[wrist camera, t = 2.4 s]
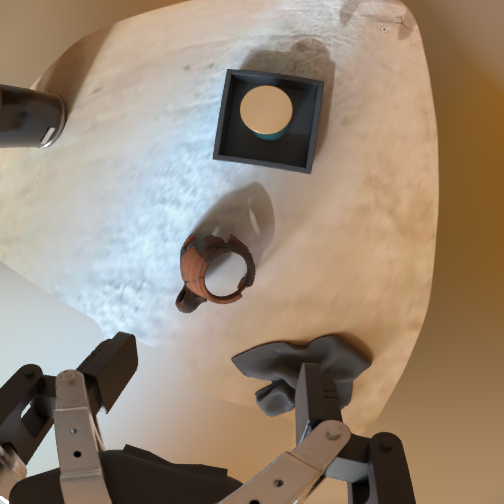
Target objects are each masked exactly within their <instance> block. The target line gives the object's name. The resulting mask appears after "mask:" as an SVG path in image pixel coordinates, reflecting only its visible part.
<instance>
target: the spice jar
mask: <svg viewBox="0 0 504 504" xmlns="http://www.w3.org/2000/svg"><path fill="white" fill-rule="evenodd" d="M292 112H293V108H292V103H291V100H290V98H289V97H288V95H287V94H286V93H285V92H284V91H282V90H281V89H279V88H277V87H274V86H267V85H266V86H259V87H256V88H254V89H252V90H250V91H249V92H248V93H247V94H246V95H245V96H244V98H243V100H242V102H241V106H240V113H241V117H242V119H243V121H244V123H245V124H246V125H247V127H248V128H250V129H251V131H252V132H253V133H254V135H255V136H257V137H258V138H259V139H261V140H264V141H276V140H278V139H280V138H282V137H283V136H284V135H285V134H286V132H287V131H288V128H289V123H290V120H291V117H292Z"/></svg>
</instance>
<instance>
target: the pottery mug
mask: <svg viewBox="0 0 504 504" xmlns="http://www.w3.org/2000/svg"><path fill="white" fill-rule="evenodd" d="M194 239H195V236H194V235H193V234H191V235H190V236H189V237H188V238H187V239H186V241H185V242H184V244H183V246H182V249H181V253H180V270H181V275H182V279H183V281H184V282H185V284H184V287H183V289H182V290H181V292H180V293H179V295H178V297H177V299H176V303H175V304H176V306H177V308H178V310H179V311H181V312H183V313H191V312H193V311H194V310H195V309H196V308H197V307H198V306H199V305H200V304H201V303H204V302H207V299H208V300H209V301H211V302H214V303H217V304H228V303H232V302H235V301H237V300H239V299H240V298H241V297H242V294H241V292H242V291H243V290H244V289H245V288H246V287H250V286H252V284H253V281H254V278H255V265H254V262H253V258H252V254H251V253H250V252H249V249H248V247H247V246H246V245H244V244H243V243H242V242H241V241H240V240H239V239H237V237H236V236H234V235H233V234H230V238H229V240H228V242H227V243H225V242H224V240H222V239H221V238H218V237H214V236H213V235H209V236H206V237H204V242H205V245H204V254H203V256H202V255H201V254H200V253H199V252H198V251H197V250H196V248H195V247H189V249H188V250H186V248H187V247H188V246H189V244H190V243H191V242H192V241H193V240H194ZM227 252H234V253H237V254H239V255H241V256H242V257H243V258H244V260H245V261H246V264H247V276H246V278H242V279H241V281H240V282H239V285H238V287H237V288H238V290H237V291H236V292H234V293H232V294H230V295H228V296H216V295H213V294H211V293H210V292H209V291H208V289H207V288H206V285H205V272H206V269H207V267H208V265H209V263H210V262H211V261H212V260H213V259H214V258H215V257H217V256H218V255H221V254H223V253H227Z"/></svg>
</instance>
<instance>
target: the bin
mask: <svg viewBox="0 0 504 504" xmlns="http://www.w3.org/2000/svg"><path fill="white" fill-rule="evenodd" d="M266 85H267V86H274V87H277V88H279V89H281V90H282V91H284V92H285V93H286V94H287V95H288V97H289V98H290V100H291V103H292V108H293V112H292V117H291V120H290V123H289V128H288V131H287V132H286V134H285V135H284V136H283V137H282V138H280V139H278V140H276V141H264V140H261V139H259V138H258V137H257V136H255V135H254V133H253V132H252V131H251V129H250V128H248V127H247V125H246V124H245V123H244V121H243V119H242V117H241V113H240V106H241V102H242V100H243V98H244V96H245V95H246V94H247V93H248V92H249V91H250V90H252V89H254V88H256V87H259V86H266ZM323 86H324V82H322V81H317V80H311V79H306V78H300V77H294V76H288V75H281V74H274V73H266V72H257V71H246V70H234V69H227V73H226V79H225V84H224V90H223V95H222V101H221V107H220V113H219V119H218V126H217V132H216V138H215V145H214V152H213V159H214V160H220V161H229V162H236V163H244V164H251V165H258V166H264V167H271V168H277V169H283V170H289V171H295V172H300V173H306V174H311V169H312V162H313V156H314V150H315V143H316V137H317V130H318V123H319V116H320V109H321V101H322V94H323Z"/></svg>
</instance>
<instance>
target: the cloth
mask: <svg viewBox="0 0 504 504" xmlns="http://www.w3.org/2000/svg"><path fill="white" fill-rule="evenodd" d="M231 360H232V362H233V363H234V364H235V366H236V367H237V368H238V369H239V370H240V371H241V372H242V373H243V374H244V375H245V376H247V377H254V378H257V379H261V380H271V381H272V384H271V385H270V386H268V387H266V388H264V389H262V390H259V391H258V392H256V393H255V396H256V402H257V404H258V406H259V408H260V409H261V410H262V411H263V412H264V413H265V414H266V415H268V416H271V417H273V416H277V415H280V414H283V413H285V412H288V411H291V410H292V409H293V408H294V407H295V393H296V387H297V383H298V379H299V375H300V371H301V367H302V364H303V363H315V364H319V365H320V370H321V375H329V376H330V377H331V378H332V379H333V381H334V382H335V385H336V390H337V391H336V392H337V395H338V400H339V405H340V410H342V409H343V408H344V407H345V406H347V405H348V404H349V402H350V399H351V393H352V380H354V379H356V378H357V377H358V376H359V375H360V374H361V373H362V372H363V371H365V370H366V369H367V368H369V367H370V366H371V364H372V362H371V361H369V360H368V359H366V358H365V357H363V356H362V355H361V354H359V353H358V352H357V351H356V350H354V349H353V348H351V347H350V346H349V345H348V344H346V343H345V342H344V341H343V340H342V339H340V338H339V337H338V336H326V337H321V338H318V339H316V340H314V341H312V342H311V343H309V344H308V345H307V346H305V347H304V348H303V347H298V346H294V345H290V344H288V343H282V342H277V343H270V344H265V345H262V346H258V347H256V348H253V349H251V350H249V351H247V352H244V353H242V354H240V355H238V356H235V357H233V358H232V359H231Z"/></svg>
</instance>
